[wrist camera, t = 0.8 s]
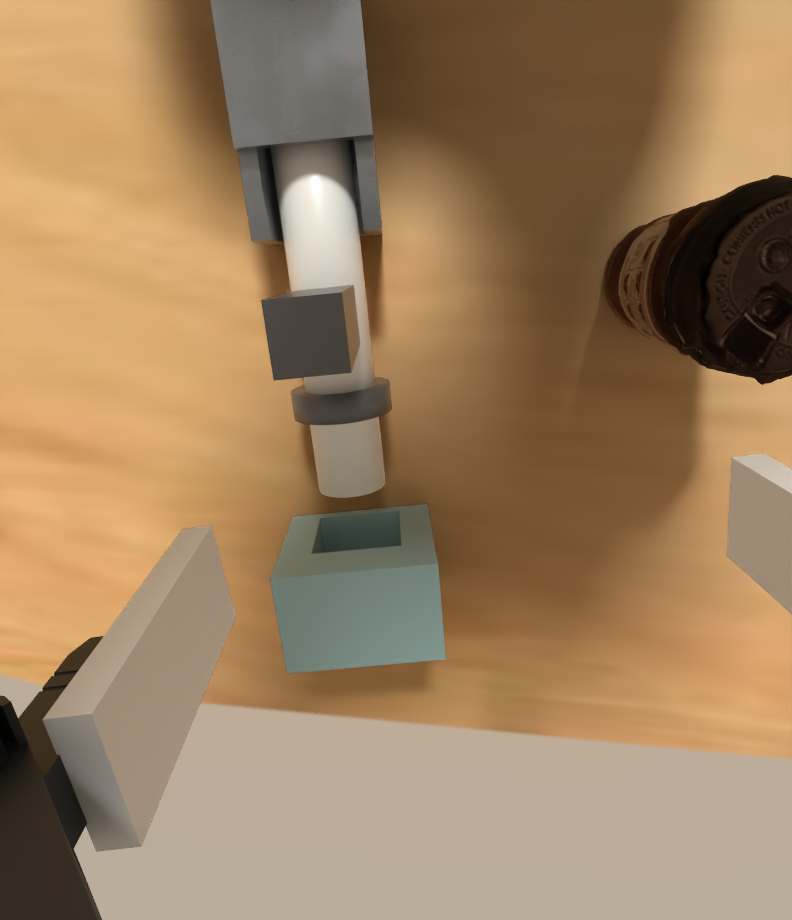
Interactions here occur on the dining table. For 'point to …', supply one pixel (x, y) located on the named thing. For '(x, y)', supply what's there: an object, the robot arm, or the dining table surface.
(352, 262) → the tube
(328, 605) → the socket
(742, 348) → the coffee cup
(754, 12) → the dining table surface
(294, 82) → the sleeve
